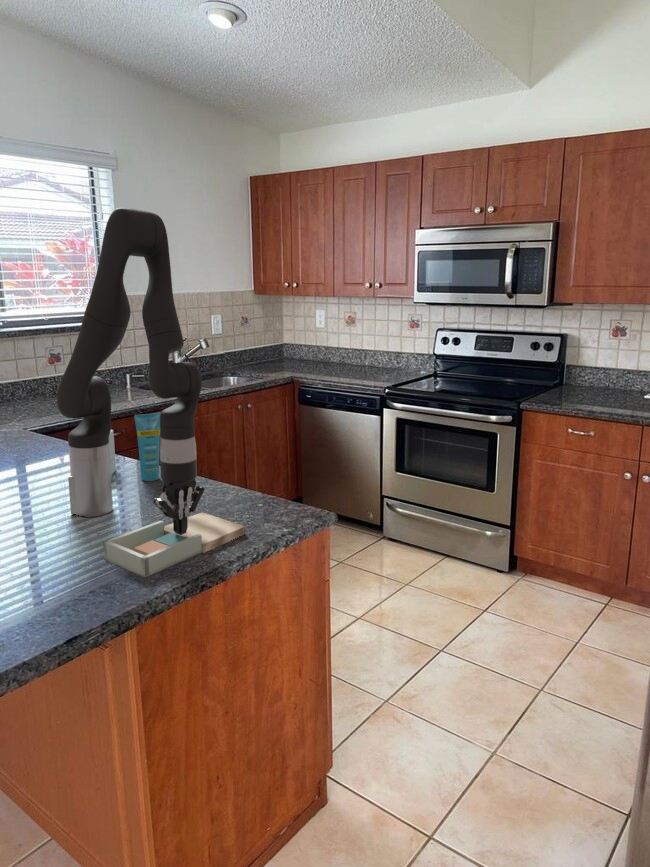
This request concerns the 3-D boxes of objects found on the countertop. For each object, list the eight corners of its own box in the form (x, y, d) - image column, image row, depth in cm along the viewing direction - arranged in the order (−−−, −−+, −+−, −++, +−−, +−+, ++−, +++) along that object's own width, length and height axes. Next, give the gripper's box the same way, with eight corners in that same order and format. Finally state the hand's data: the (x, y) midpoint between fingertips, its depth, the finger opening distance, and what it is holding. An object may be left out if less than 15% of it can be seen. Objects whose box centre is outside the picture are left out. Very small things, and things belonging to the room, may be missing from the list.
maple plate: (203, 553, 137) (203, 544, 136) (159, 536, 145) (159, 528, 144) (245, 534, 147) (245, 526, 147) (202, 519, 155) (202, 512, 155)
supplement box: (91, 470, 191) (88, 429, 188) (116, 470, 192) (114, 429, 188) (84, 478, 184) (81, 435, 181) (110, 478, 184) (108, 435, 181)
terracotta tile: (150, 563, 131) (150, 554, 130) (134, 556, 133) (133, 548, 133) (169, 554, 135) (168, 545, 134) (152, 548, 137) (152, 540, 137)
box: (145, 577, 125) (144, 558, 124) (104, 559, 133) (103, 541, 132) (201, 552, 137) (201, 535, 136) (161, 537, 145) (160, 520, 144)
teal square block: (170, 554, 135) (170, 545, 134) (154, 548, 137) (153, 539, 137) (187, 546, 139) (187, 537, 138) (171, 540, 141) (171, 532, 141)
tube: (140, 483, 181) (137, 416, 176) (134, 478, 184) (131, 413, 180) (165, 479, 185) (163, 413, 180) (160, 474, 188) (157, 410, 184)
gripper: (166, 467, 129) (169, 547, 133) (213, 453, 139) (214, 528, 143) (141, 460, 133) (145, 538, 137) (189, 447, 143) (191, 520, 148)
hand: (180, 533), depth 140 cm, fingers closed
